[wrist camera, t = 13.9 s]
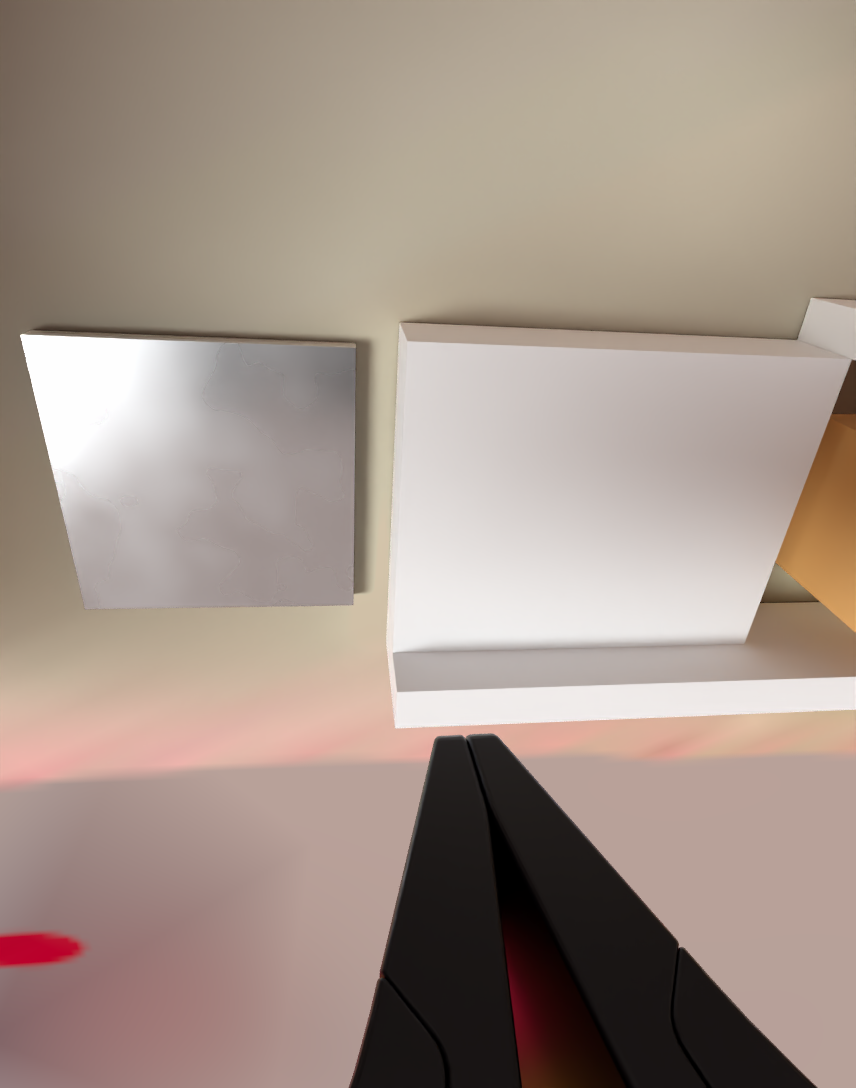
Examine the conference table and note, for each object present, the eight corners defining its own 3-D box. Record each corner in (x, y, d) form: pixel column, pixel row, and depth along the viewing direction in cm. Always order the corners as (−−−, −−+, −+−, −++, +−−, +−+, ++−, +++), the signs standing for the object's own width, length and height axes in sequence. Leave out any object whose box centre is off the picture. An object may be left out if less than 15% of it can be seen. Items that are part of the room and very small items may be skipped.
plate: (30, 329, 14) (20, 334, 14) (355, 342, 15) (355, 348, 15) (91, 598, 17) (84, 609, 17) (352, 595, 18) (353, 605, 18)
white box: (401, 275, 14) (417, 301, 11) (1082, 312, 17) (1245, 342, 14) (386, 642, 19) (395, 728, 16) (913, 630, 22) (1006, 703, 19)
